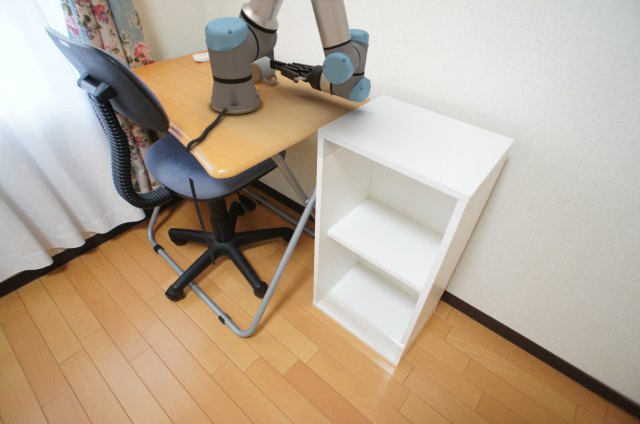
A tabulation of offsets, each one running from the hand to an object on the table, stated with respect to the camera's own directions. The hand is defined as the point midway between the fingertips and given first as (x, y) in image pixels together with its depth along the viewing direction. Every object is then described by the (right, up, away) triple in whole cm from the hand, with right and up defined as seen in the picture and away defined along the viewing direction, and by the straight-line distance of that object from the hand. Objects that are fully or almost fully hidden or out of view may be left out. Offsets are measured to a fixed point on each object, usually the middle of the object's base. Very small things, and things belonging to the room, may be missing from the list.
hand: (271, 63), depth 110 cm
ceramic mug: (-3, -4, +6) cm, 8 cm away
